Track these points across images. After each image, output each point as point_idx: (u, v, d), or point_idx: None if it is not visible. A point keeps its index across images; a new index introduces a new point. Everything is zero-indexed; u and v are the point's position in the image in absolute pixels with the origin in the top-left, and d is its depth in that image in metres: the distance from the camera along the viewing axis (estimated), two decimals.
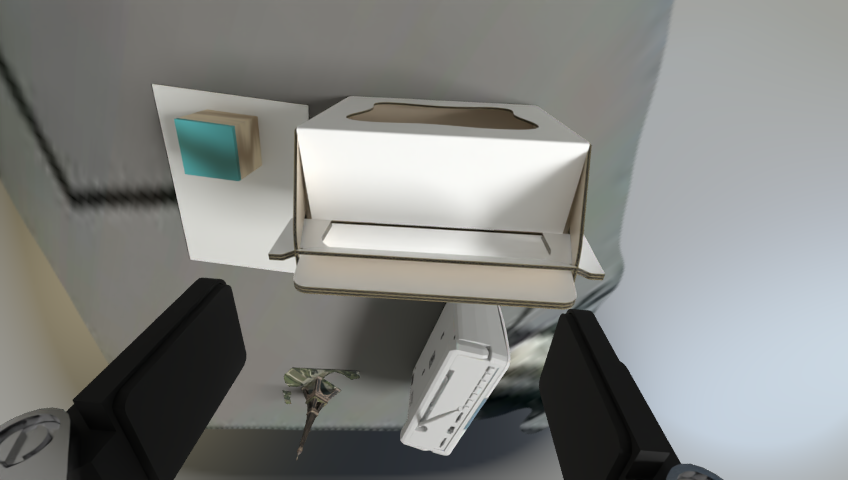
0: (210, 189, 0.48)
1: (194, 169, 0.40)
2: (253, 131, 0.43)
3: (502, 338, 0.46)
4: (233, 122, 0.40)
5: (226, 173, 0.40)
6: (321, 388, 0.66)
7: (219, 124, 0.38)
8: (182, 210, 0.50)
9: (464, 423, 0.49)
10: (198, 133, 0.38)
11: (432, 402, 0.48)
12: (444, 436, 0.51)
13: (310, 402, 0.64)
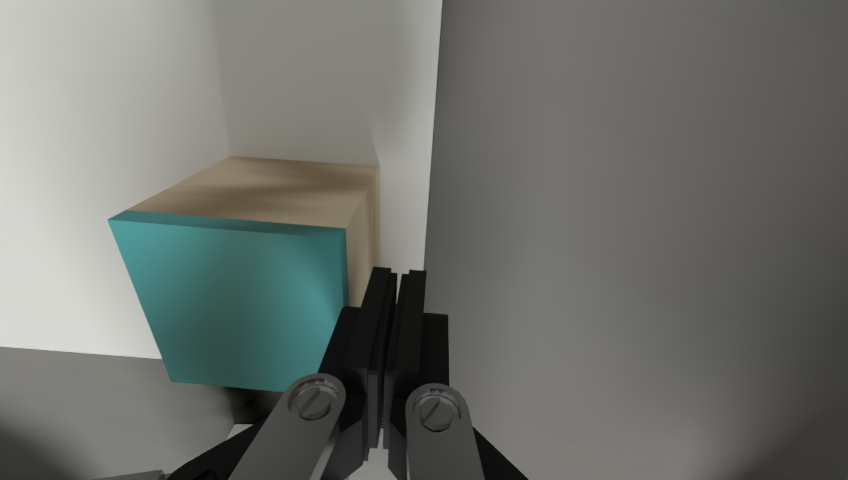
0: (111, 115, 0.14)
1: (148, 261, 0.10)
2: None
3: None
4: None
5: (183, 356, 0.12)
6: None
7: None
8: None
9: None
10: (302, 308, 0.10)
11: None
12: None
13: None
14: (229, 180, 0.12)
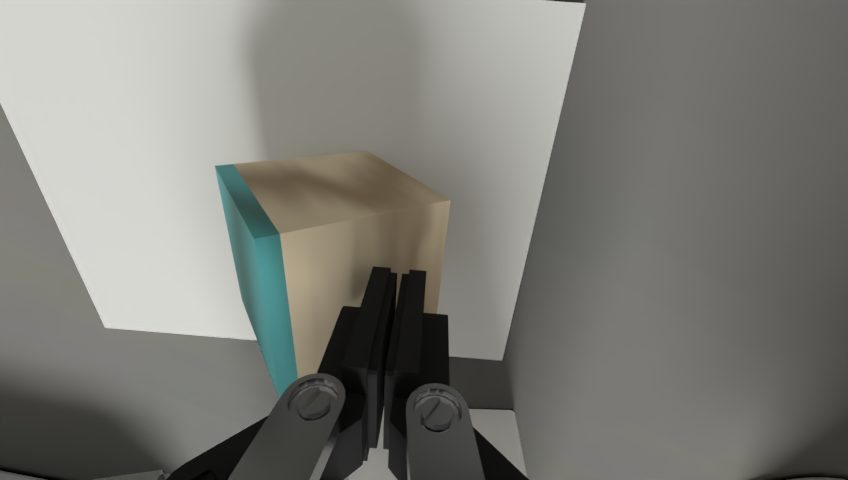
0: (265, 114, 0.16)
1: (224, 203, 0.13)
2: None
3: None
4: None
5: (240, 285, 0.15)
6: None
7: (286, 367, 0.11)
8: None
9: None
10: (255, 292, 0.11)
11: None
12: None
13: None
14: (320, 166, 0.14)
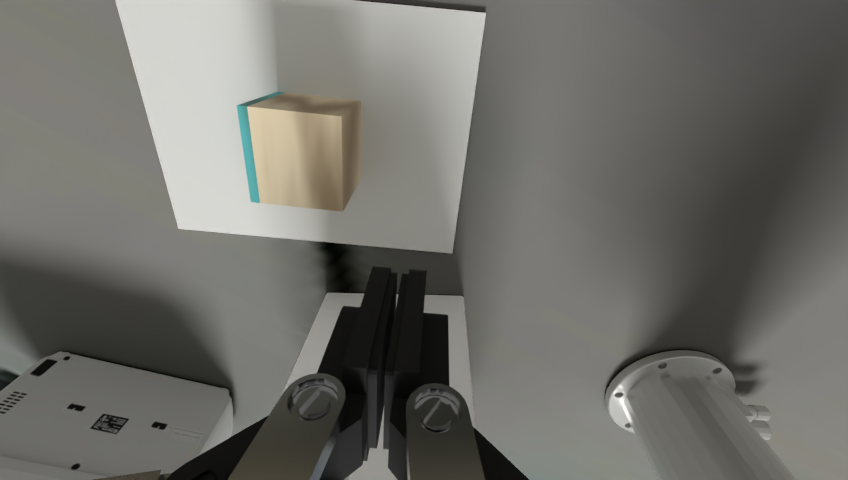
0: (298, 76, 0.25)
1: None
2: None
3: None
4: (277, 194, 0.23)
5: None
6: None
7: (252, 181, 0.23)
8: None
9: None
10: None
11: None
12: None
13: None
14: (318, 99, 0.25)
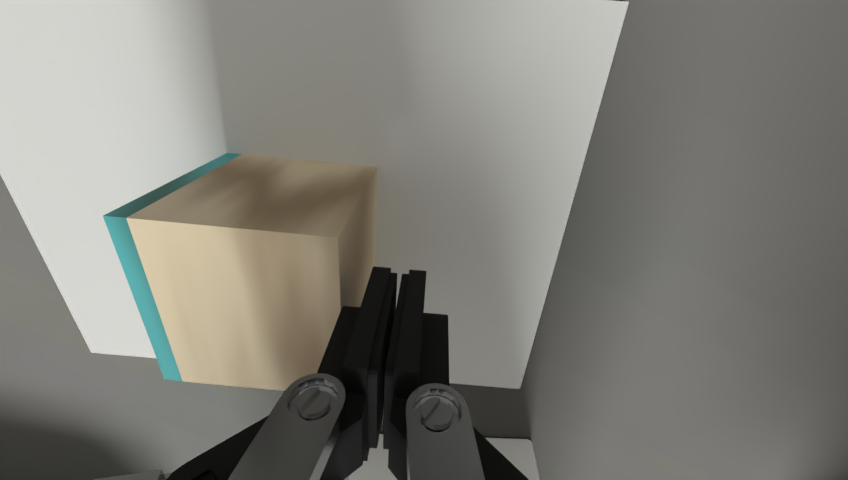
0: (263, 126, 0.14)
1: None
2: None
3: None
4: (214, 369, 0.12)
5: None
6: None
7: (162, 348, 0.11)
8: None
9: None
10: None
11: None
12: None
13: None
14: (298, 171, 0.13)
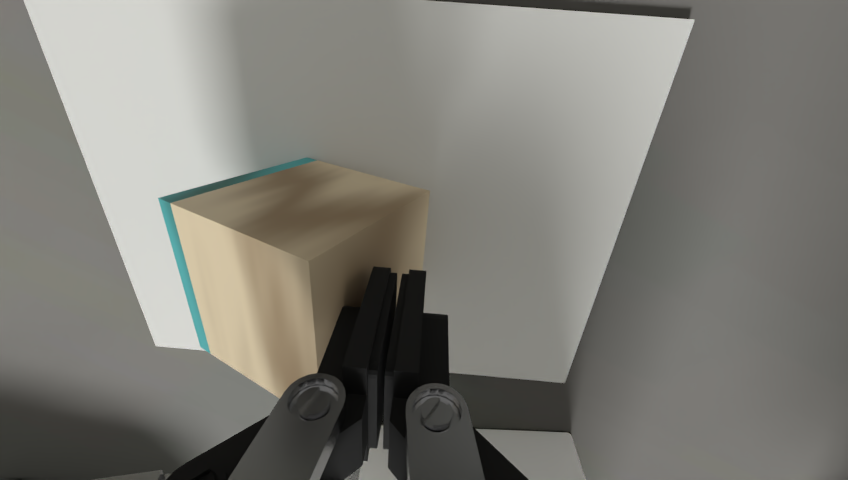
0: (342, 133, 0.15)
1: None
2: None
3: None
4: (228, 352, 0.13)
5: None
6: None
7: (197, 320, 0.13)
8: None
9: None
10: None
11: None
12: None
13: None
14: (347, 183, 0.13)
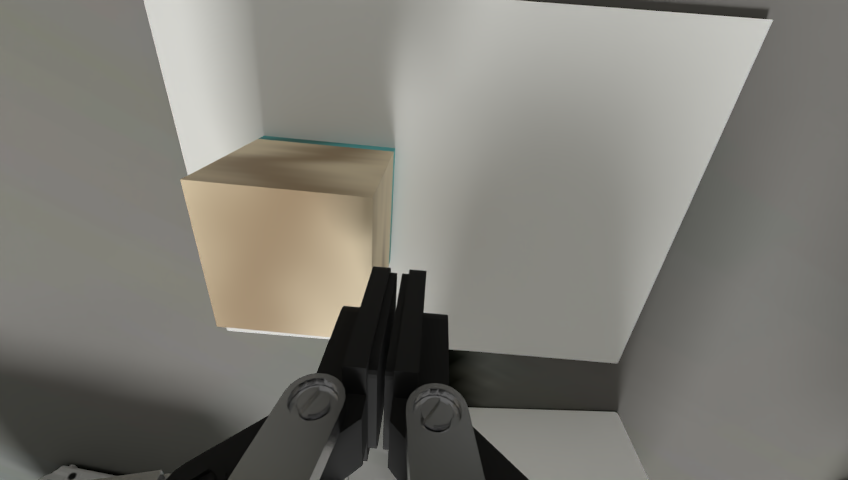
0: (432, 124, 0.16)
1: None
2: None
3: None
4: None
5: None
6: None
7: None
8: None
9: None
10: None
11: None
12: None
13: None
14: (348, 167, 0.14)
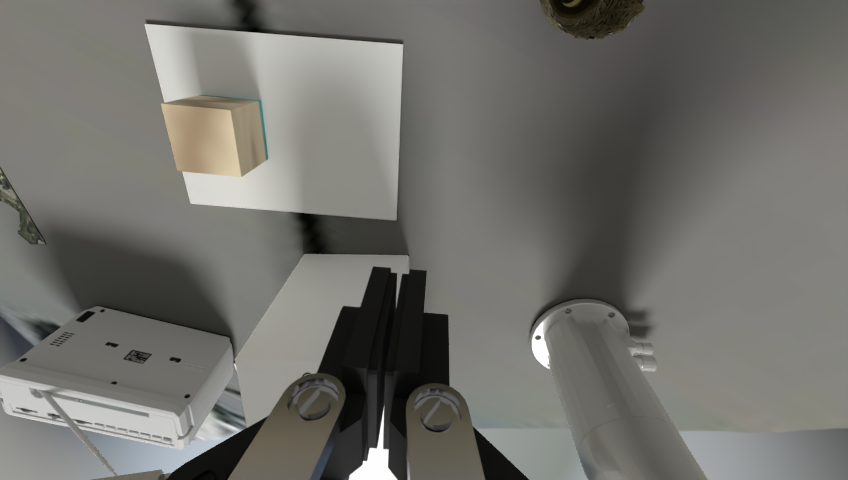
0: (275, 89, 0.36)
1: None
2: None
3: (203, 421, 0.47)
4: None
5: None
6: None
7: None
8: (231, 35, 0.34)
9: None
10: None
11: None
12: (39, 411, 0.42)
13: None
14: (230, 103, 0.34)
